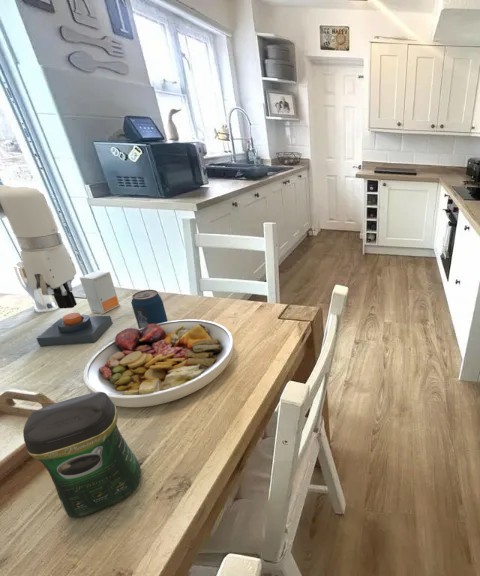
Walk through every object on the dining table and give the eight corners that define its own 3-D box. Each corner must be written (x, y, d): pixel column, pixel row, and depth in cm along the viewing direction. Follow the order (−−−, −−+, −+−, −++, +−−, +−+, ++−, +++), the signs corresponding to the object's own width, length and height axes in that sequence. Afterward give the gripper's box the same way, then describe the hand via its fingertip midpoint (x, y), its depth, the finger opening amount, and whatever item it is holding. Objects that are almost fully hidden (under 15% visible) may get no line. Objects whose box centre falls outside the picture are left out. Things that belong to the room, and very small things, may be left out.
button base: (40, 346, 84) (33, 332, 82) (63, 326, 93) (58, 312, 91) (94, 342, 87) (89, 328, 85) (112, 323, 96) (108, 310, 94)
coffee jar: (142, 458, 59) (112, 378, 51) (142, 495, 53) (107, 413, 45) (71, 484, 54) (25, 401, 46) (62, 529, 48) (7, 443, 40)
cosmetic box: (103, 314, 99) (91, 279, 94) (91, 312, 100) (78, 277, 95) (121, 305, 105) (110, 271, 100) (109, 303, 105) (97, 269, 100)
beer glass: (65, 300, 105) (47, 257, 98) (63, 309, 100) (44, 264, 94) (34, 305, 101) (14, 261, 94) (31, 315, 96) (9, 269, 90)
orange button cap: (61, 325, 86) (59, 319, 85) (69, 318, 89) (67, 313, 88) (77, 324, 87) (75, 319, 86) (85, 318, 90) (83, 312, 89)
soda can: (169, 322, 98) (160, 287, 93) (169, 334, 93) (160, 297, 88) (141, 327, 94) (130, 291, 89) (140, 340, 89) (128, 302, 84)
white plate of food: (259, 348, 89) (256, 324, 86) (162, 433, 63) (152, 404, 60) (174, 325, 97) (168, 302, 93) (55, 392, 71) (41, 363, 67)
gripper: (42, 232, 84) (68, 294, 92) (-4, 251, 71) (31, 322, 79) (77, 231, 86) (99, 293, 94) (38, 250, 73) (68, 320, 81)
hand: (68, 306), depth 86 cm, fingers closed
